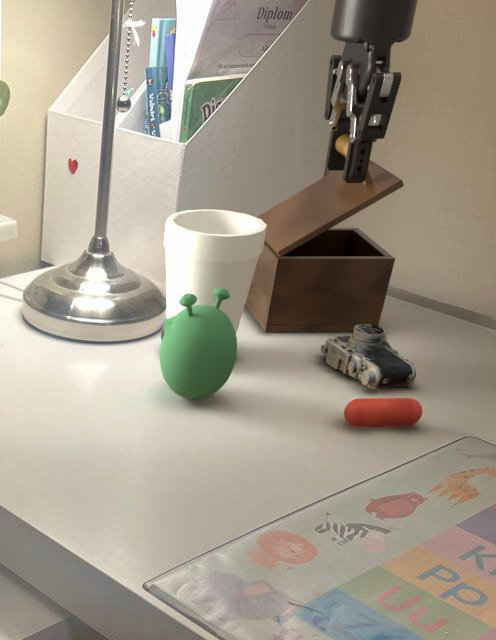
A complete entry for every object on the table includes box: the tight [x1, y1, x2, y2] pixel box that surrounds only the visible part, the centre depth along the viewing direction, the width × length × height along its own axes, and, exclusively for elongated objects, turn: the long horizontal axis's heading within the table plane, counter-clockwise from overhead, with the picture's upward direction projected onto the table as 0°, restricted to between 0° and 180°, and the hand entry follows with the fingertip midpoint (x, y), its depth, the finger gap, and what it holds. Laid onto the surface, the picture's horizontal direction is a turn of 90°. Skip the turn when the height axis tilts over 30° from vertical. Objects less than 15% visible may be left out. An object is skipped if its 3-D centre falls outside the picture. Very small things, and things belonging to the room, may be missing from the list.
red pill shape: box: [343, 397, 423, 428], centre depth 87 cm, size 7×2×2 cm, turn 94°
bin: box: [245, 227, 396, 333], centre depth 109 cm, size 13×12×8 cm
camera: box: [320, 324, 417, 390], centre depth 97 cm, size 5×10×4 cm, turn 17°
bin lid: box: [255, 134, 405, 257], centre depth 103 cm, size 13×12×5 cm
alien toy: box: [159, 288, 238, 400], centre depth 90 cm, size 7×8×10 cm
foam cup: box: [163, 208, 267, 334], centre depth 97 cm, size 10×9×13 cm
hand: (344, 174), depth 102 cm, fingers closed on bin lid, 5 cm apart
